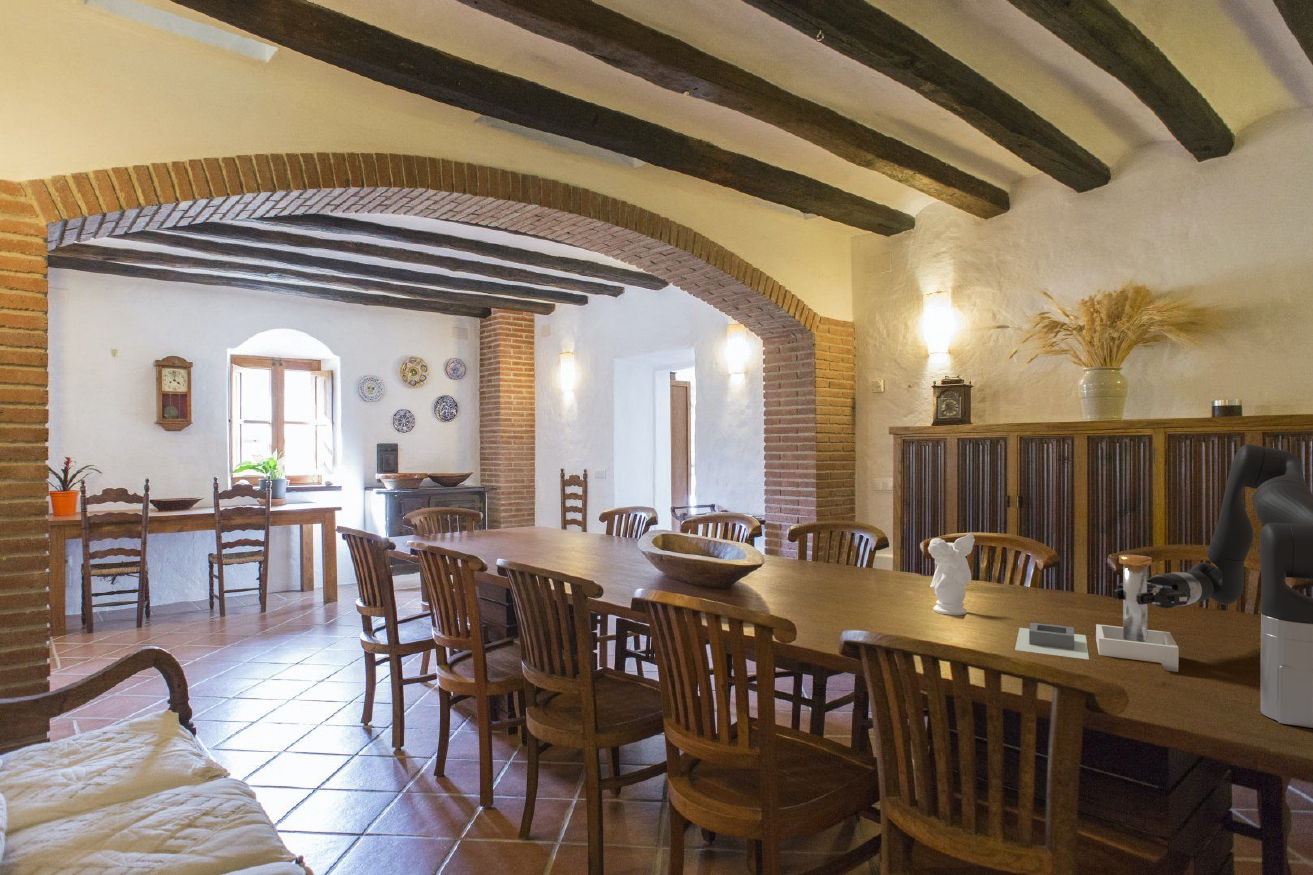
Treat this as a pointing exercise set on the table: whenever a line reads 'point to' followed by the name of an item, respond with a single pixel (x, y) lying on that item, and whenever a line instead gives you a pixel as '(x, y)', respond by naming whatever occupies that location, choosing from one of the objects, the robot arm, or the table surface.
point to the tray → (1138, 646)
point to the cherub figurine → (951, 573)
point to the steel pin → (1134, 596)
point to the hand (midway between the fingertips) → (1127, 597)
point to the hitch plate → (1052, 641)
